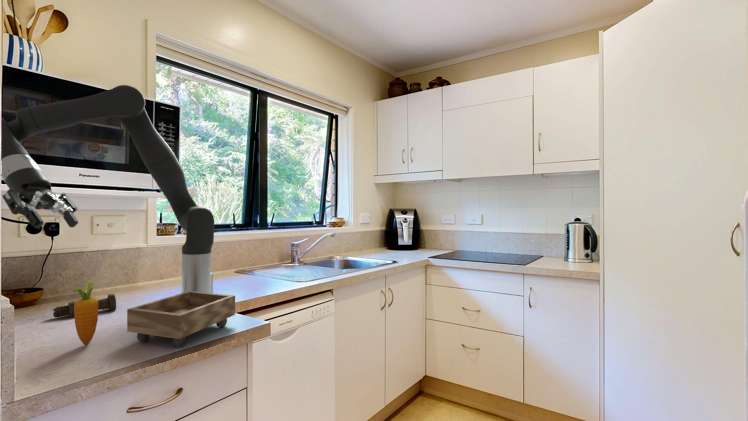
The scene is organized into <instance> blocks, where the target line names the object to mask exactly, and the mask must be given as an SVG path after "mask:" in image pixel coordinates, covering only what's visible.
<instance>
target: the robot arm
mask: <svg viewBox="0 0 748 421" xmlns="http://www.w3.org/2000/svg"><path fill="white" fill-rule="evenodd" d="M145 106H146V99H145V96H144V94H143V93H142V92H141V90H139V89H137V88H136V87H133V86H132V85H128V84H121V85H117V86H114V87H113V88H111V89H108V90H105V91H103V92H102V91H101V92H99V93H96V94H92V95H89V96H84V97H80V98H75V99H69V100H62V101H61V100H60V101H57V102H56V101H55V102H51V103H50V102H49V103H45V104H38V105H32V106H27V107H22V108H20V109H17V110H16V111H15V117H16V118H15V119H13V120H11V121H9V122H7V121H6V120H5V119H4V117H2V174H1V175H0V177H1V176H2V177H1V179H2V180H3V182H4V183H5V185H6V186H7V187H8V190H7V191H5V193H4V194H3V195H2V199H3V200H4V202H5V203H6V205H7V207H8V209H9V210H10V212H11V214H13V215H22V216H23V217H25V218H26V219H27V221H28V222H29V224H30V225H31V226H32V227H33V228H34V229H39V228H41V227H42V226H43V225H44V220H43V218H41V215H40V214H39V213H38V212H37V210H48V211H50V212H52V213H54V214H56V213H57V214H58V215H60V216H62V218H63V219H64V221H65V222H66V224H67V225H68V227H70V228H75V227H76V226H77V225H78V224H79V220H78V218H77V216H76V215H75V212H76V211H78V210H79V207H78V206H77V205H76V204H75V203H74V201H73V199H71V197H70V196H69V195H68V194H67V192H62V193H61V194H57V193H55V192H54V191H53V190H52V183H51V182H50V180H49V179H48V177H47V176H46V175H45V172H43V171H42V169H41V167H40V166H39V165H38V163H37V162H36V161H35V160H34V159H33V158H32V157H31V155H30V154H29V153H28V151H27V150H26V148H25V147H24V146H23V145H22V144H21V143H20V142H22V141H25V140H27V139H29V138H31V137H33V136H35V135H39V134H42V133H48V132H52V131H58V130H62V129H64V128H68V127H72V126H75V125H79V124H82V123H84V122H85V123H86V122H90V121H92V120H93V121H94V120H97V119H102V118H111V117H113V118H114V117H117V119H118V121H120V123H121V124H122V125H123V127H124V128H125V130H126V131H127V133H128V134H129V136H130V138H131V140H132V142H133V143H134V146H135V149H136V150H137V152H138V154H139V156H140V158H141V160H142V162H143V164H144V166H145V167H146V169H147V171H148V172H149V174H150V175H151V177H152V178H153V180H154V181H155V183H156V185H157V186H158V188H159V190H160V191H161V193H162V194H163V195H164V197H165V198H166V200H167V203H169V205H170V207H171V210H172V211H173V213H174V216H175V218H176V220H177V222H178V224H179V226H180V228H181V229H182V230H183V231H185V232H186V235H185V241H184V244H183V245H182V246H181V293H184V292H188V291H194V292H204V293H214V273H213V272H212V248H213V244H214V240H215V218H214V214H213V213H212V211H211V210H210V209H208V208H206V207H202V206H198V205H197V203H196V202H195V200H194V198H193V197H192V195H191V193H190V192H189V190H188V185H187V181H186V177H185V173H184V170H183V168H182V165H181V164H180V161H179V160H178V158H177V156H176V155H175V153H174V151H173V150H172V148H171V147H170V146H169V144H168V143H167V142H166V141H165V139H164V138H163V137H162V136H161V134H160V133H159V132H158V131H157V129H156V127H155V126H154V124H153V123H152V121H151V119H150V117H149V115H148V112H147V111H146V108H145ZM56 204H57V206H56V207H55V205H56ZM62 209H63V210H62Z"/></svg>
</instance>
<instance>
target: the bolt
mask: <svg viewBox="0 0 748 421" xmlns="http://www.w3.org/2000/svg"><path fill="white" fill-rule="evenodd" d="M97 300H98V311H100V310H104V311H105V310H109V311H110V312H115V311H116V309H117V298H116V295H115V293H109V294H107V297H105V298H102V299H97ZM76 301H77V300H75V301H69V302H68V303H67V305H62V306H56V307H55V308H53V309H52V311H53V312H52V316H53V317H54V318H62V317H67V316H68V317H69V318H75V317H74V304H75V302H76Z"/></svg>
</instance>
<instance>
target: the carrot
mask: <svg viewBox="0 0 748 421" xmlns="http://www.w3.org/2000/svg"><path fill="white" fill-rule="evenodd" d="M93 288H94V284H93V282H88V283H87V290H86V291H85V290H83V289H82V288H81V287H76V288H74V291H75V292H77V293H78V294H79V295H80V297H81V298H79V299H77V300H75V301H76V302H75V304H74V317H73V318H74V324H75V325H74V326H75V330H76V333H77V334H76V335H77V336H78V339H79V341H80V342H81V343H82V344H83V345H84V346H88V345H89V344H90V343H91V341H92V340H93V337H95V336H94V335H95V333H96V329H97V326H98V320H99V310H98V300H99V299H97V298H96V297H91V296H92V292H93Z"/></svg>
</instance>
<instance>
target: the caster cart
mask: <svg viewBox="0 0 748 421" xmlns="http://www.w3.org/2000/svg"><path fill="white" fill-rule="evenodd" d="M126 314H127V315H126V321H127V323H126V327H127V328H126V332H129V333H136V339H137V341H139V342H143V343H144V342H145V343H146V342H147V341H148V340H149V339H151V336H157V337H161V338H162V337H164V338H169V339H170V338H171V339H172V345H173V347H177V348H182V347H184V345H185V344H186V342H187V337H189V336H190V335H192V334H195V333H198V332H199V331H201V330H203V329H207V328H209V327H211V326H213V325H216V326H217V327H218V328H224V327H226V326H227V323H228V319H229V318H230V317H234V316H235V315H236V295H234V294H223V293H214V292H213V293H204V292H194V291H188V292H184V293H182V292H181V293H178V294H174V295H171V296H167V297H165V298H161V299H157V300H154V301H151V302H148V303H143V304H141V305H137V306H134V307H130V308H127V309H126Z"/></svg>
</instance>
